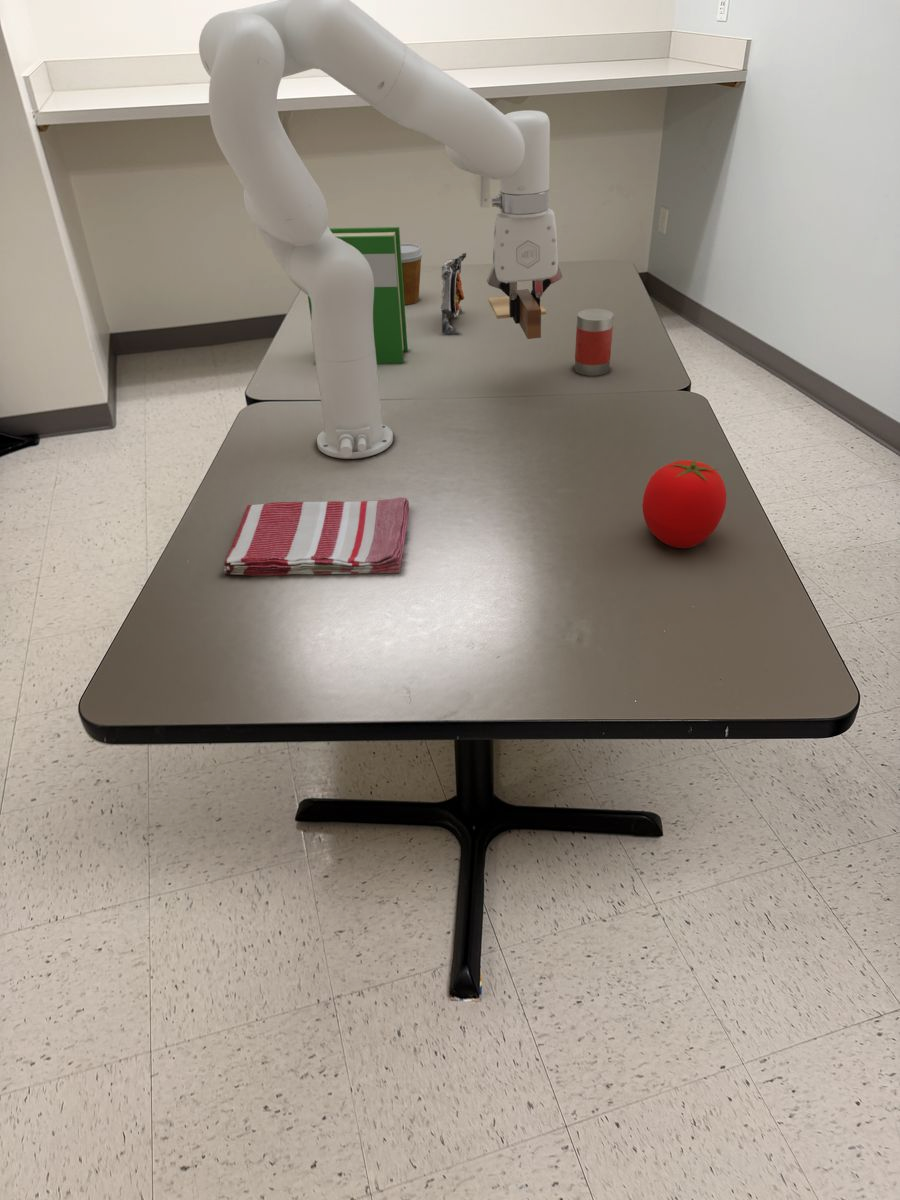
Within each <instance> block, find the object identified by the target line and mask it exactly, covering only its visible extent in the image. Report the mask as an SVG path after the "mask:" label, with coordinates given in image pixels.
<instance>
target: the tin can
mask: <svg viewBox="0 0 900 1200" xmlns="http://www.w3.org/2000/svg"><path fill="white" fill-rule="evenodd" d="M613 329H614V312H612V311H611V310H608V309H604V308H603V309H602V308H586V309H582V310H581V311H579V312H578V313H577V317H576V332H575V348H574V350H575V352H574V371H575V372H576V373H577V374H579V375H581V376H587V377H595V376H597V377H598V376H603V375H606V374H607V373H608V372H609V371H610V364H611V355H612V341H613Z"/></svg>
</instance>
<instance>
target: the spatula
mask: <svg viewBox="0 0 900 1200" xmlns="http://www.w3.org/2000/svg"><path fill="white" fill-rule="evenodd" d="M517 294H518V299H519V301H520V323H519V324H518V325H519V326H520V328H521V330H522V331H523V334H524V335H525V337H526V339H527V340H532V339H541V338H542V315H543V316H544V315H547V310H546V308H545V307H544V305H543V303H542V302H541V301H540V307H539V305H538V304H537V302H536V301H535V299H534V298H533V296H532V294H531V290H529V289H528V288H525V289H524V288H523V289H517ZM488 303H489V305H490V307H491V309H492V312H493V313H494V315H495V317H496V319H498V320H501V319H511V318H512V319H513V317H510V312H509V297H508V296H507V295H506V296H505V295H504V296H495V297H488Z"/></svg>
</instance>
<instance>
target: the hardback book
mask: <svg viewBox="0 0 900 1200" xmlns="http://www.w3.org/2000/svg"><path fill="white" fill-rule="evenodd" d="M329 229H330V230H331V232H332V233H333V235H334V236H335V237H337V238H339V239H341V240H343V241H345V242H346V243H348V244H350V245H352V246H353V247H355V248H356V249H357V250H358V251H359V252H360V253H361V254H362V255H363V256H364V257H365V259H366V260H367V262H368V263H369V265H370V268H371V270H372V274H373V279H374V302H373V329H374V342H375V350H376V361H377V364H404V362H405V361H404V360H405V359H404V353H407V352H408V351H409V348H408V333H407V319H406V304H405V303H404V289H403V274H402V260H401V245H400V244H401V234H400V233H401V232H400V226H378V227H374V226H373V227H331V228H330V227H329ZM307 299H308V300H307V301H308V307H309V315H310V319H311V318H312V305H311V300H310V297H309V296H308V295H307Z"/></svg>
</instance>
